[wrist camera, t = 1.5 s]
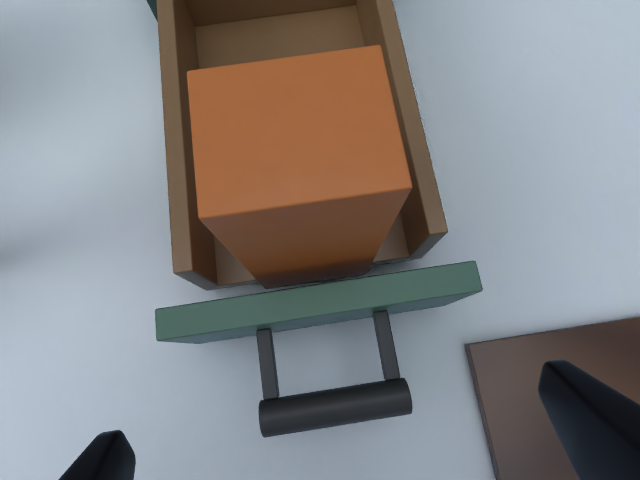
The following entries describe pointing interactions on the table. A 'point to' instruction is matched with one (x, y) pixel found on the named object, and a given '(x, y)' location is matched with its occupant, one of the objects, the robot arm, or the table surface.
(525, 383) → the board
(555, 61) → the table surface
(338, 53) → the orange rectangular prism
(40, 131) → the table surface
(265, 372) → the drawer
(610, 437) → the robot arm
